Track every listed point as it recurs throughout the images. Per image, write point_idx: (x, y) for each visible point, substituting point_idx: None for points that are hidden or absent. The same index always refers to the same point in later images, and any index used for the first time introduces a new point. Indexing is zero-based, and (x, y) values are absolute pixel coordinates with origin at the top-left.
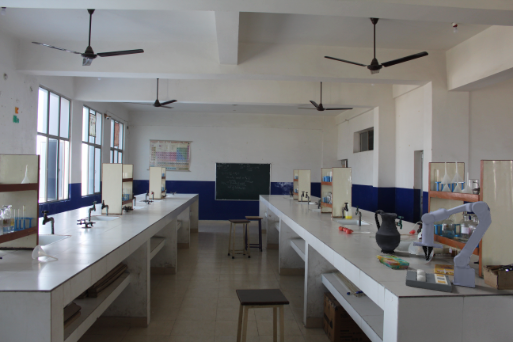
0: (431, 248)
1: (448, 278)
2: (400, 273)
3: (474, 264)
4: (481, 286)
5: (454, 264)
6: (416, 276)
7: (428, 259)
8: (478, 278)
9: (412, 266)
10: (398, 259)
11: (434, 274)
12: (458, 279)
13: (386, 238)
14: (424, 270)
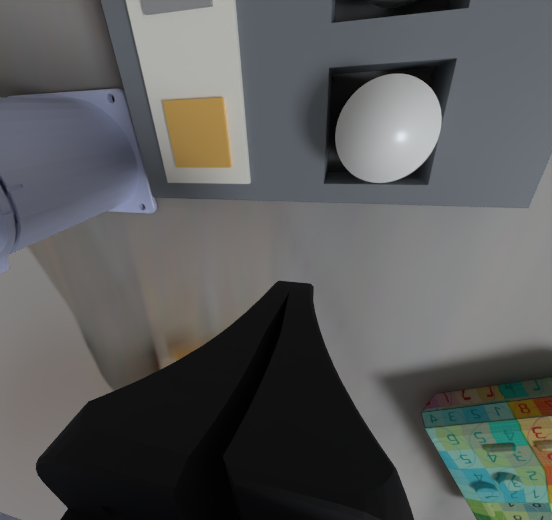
0: (61, 464)
1: (126, 81)
2: (540, 253)
3: None
4: None
5: (4, 223)
6: (451, 15)
7: (275, 288)
8: (82, 325)
9: (382, 435)
10: (508, 479)
11: (249, 172)
12: (62, 104)
13: None
14: (342, 154)
